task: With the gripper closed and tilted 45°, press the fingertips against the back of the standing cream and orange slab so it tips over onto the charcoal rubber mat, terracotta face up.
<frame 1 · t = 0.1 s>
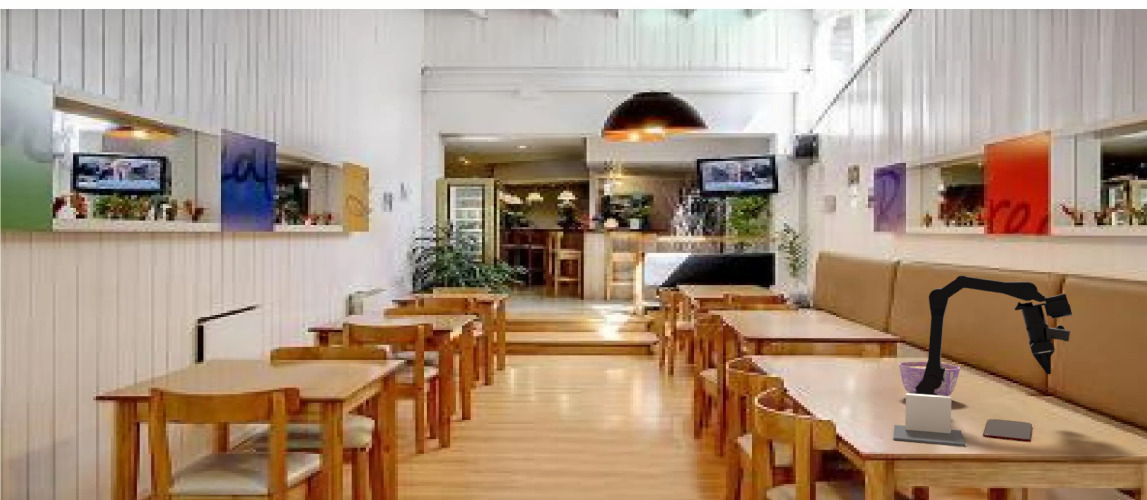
hand: (1048, 372, 275), 15 cm above the table, tool pointing down, fingers open, 9 cm apart
lavender translucent bowl: (928, 399, 315), on the table
cream and orange slab: (927, 430, 258), point 1 cm above the table, touching charcoal mat
smartphone: (1007, 434, 262), on the table
charcoal mat: (928, 436, 253), on the table
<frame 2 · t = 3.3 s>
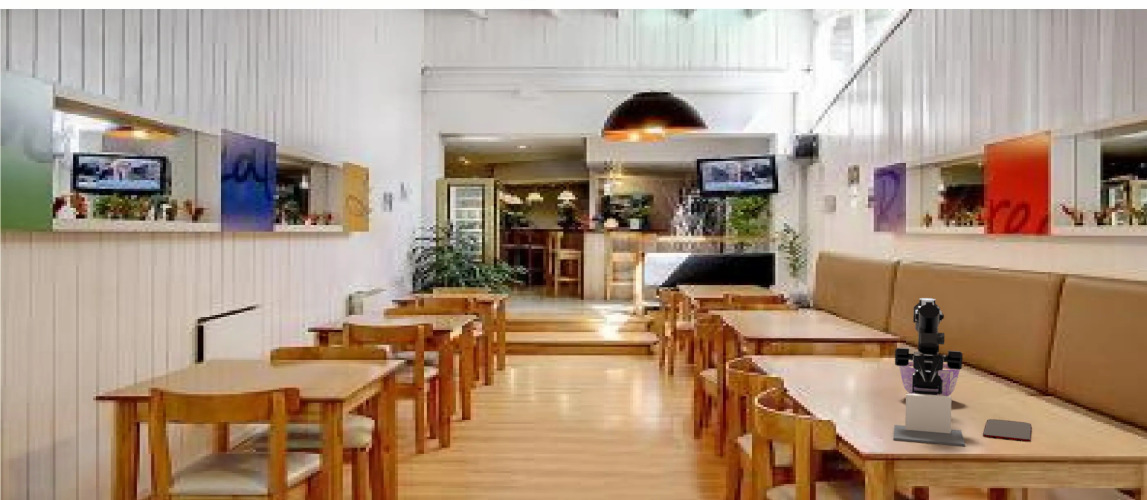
hand: (928, 381, 266), 14 cm above the table, tool tilted 45°, fingers closed
nothing on the table moved.
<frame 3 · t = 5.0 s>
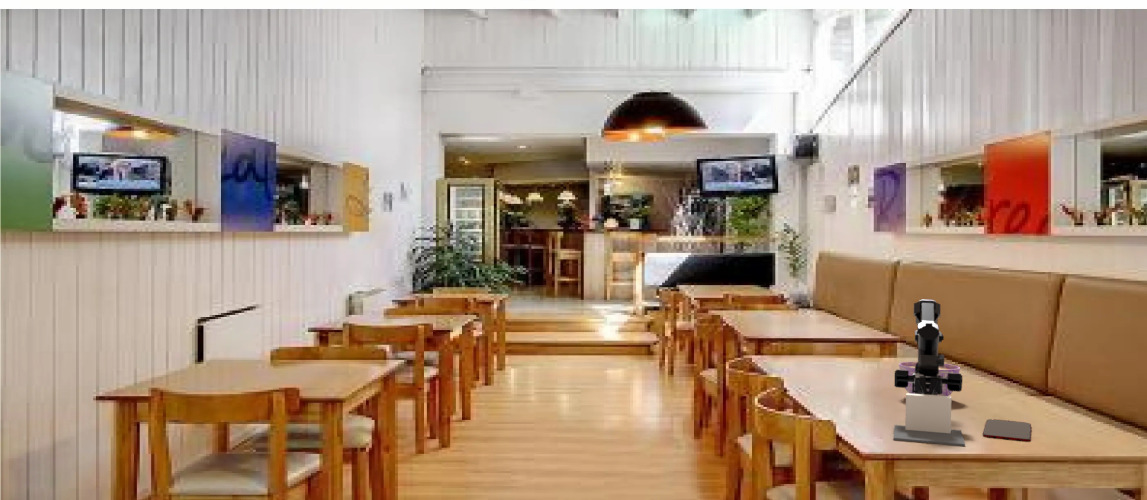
hand: (927, 403, 264), 7 cm above the table, tool tilted 45°, fingers closed
nothing on the table moved.
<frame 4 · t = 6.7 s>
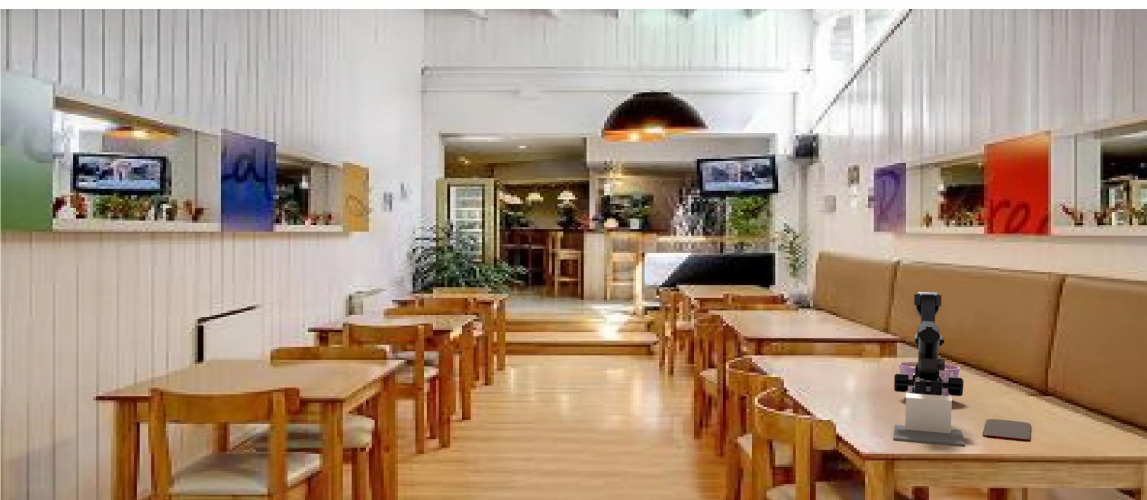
hand: (928, 408, 258), 7 cm above the table, tool tilted 45°, fingers closed
cream and orange slab: (927, 429, 258), point 1 cm above the table, tilted 15°, touching charcoal mat
everything else where it was.
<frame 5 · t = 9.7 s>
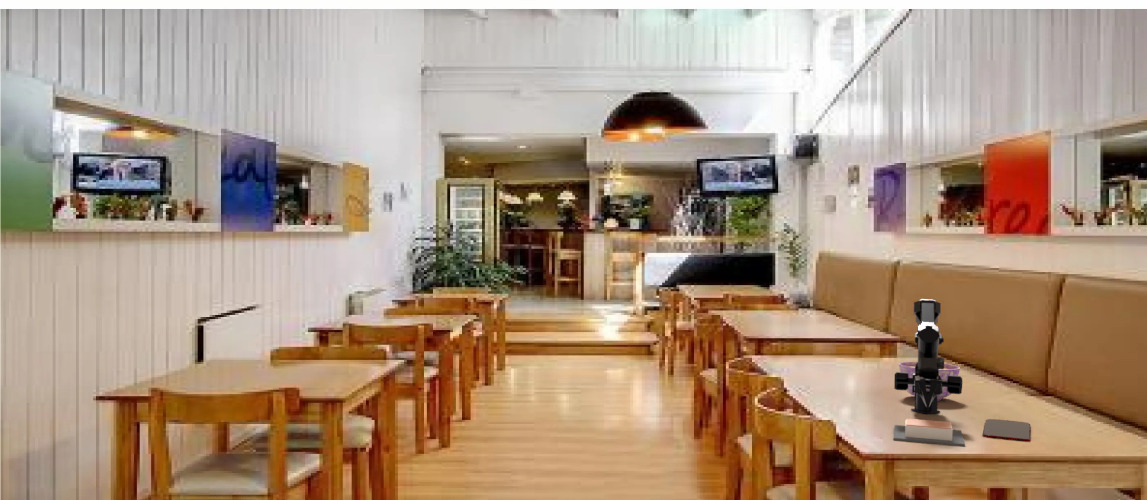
hand: (927, 406, 264), 7 cm above the table, tool tilted 45°, fingers closed
cream and orange slab: (927, 426, 257), point 2 cm above the table, tilted 90°, touching charcoal mat
everything else where it was.
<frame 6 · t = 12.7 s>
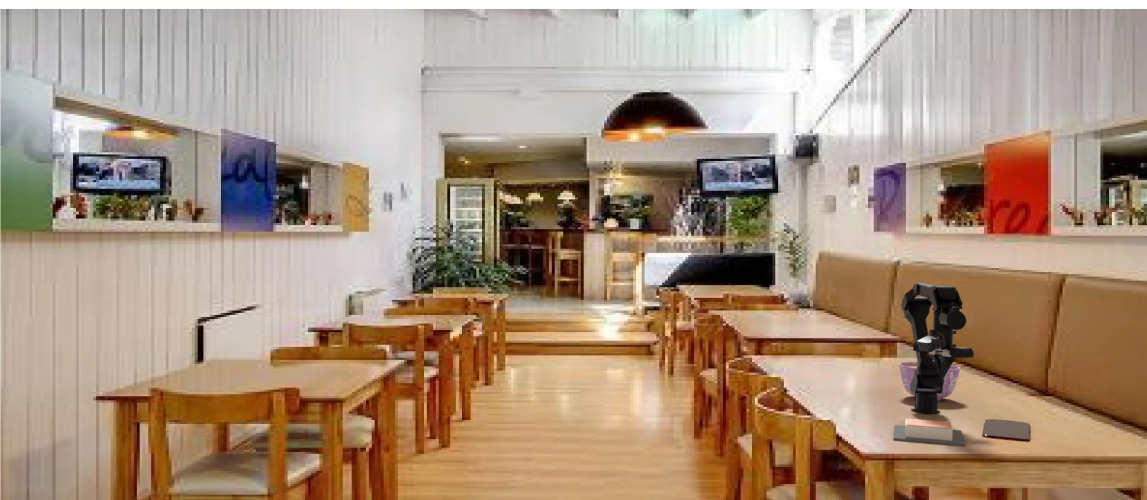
hand: (942, 377, 276), 13 cm above the table, tool pointing down, fingers closed
nothing on the table moved.
at the end: cream and orange slab tilted 90°; cream and orange slab touching charcoal mat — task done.
